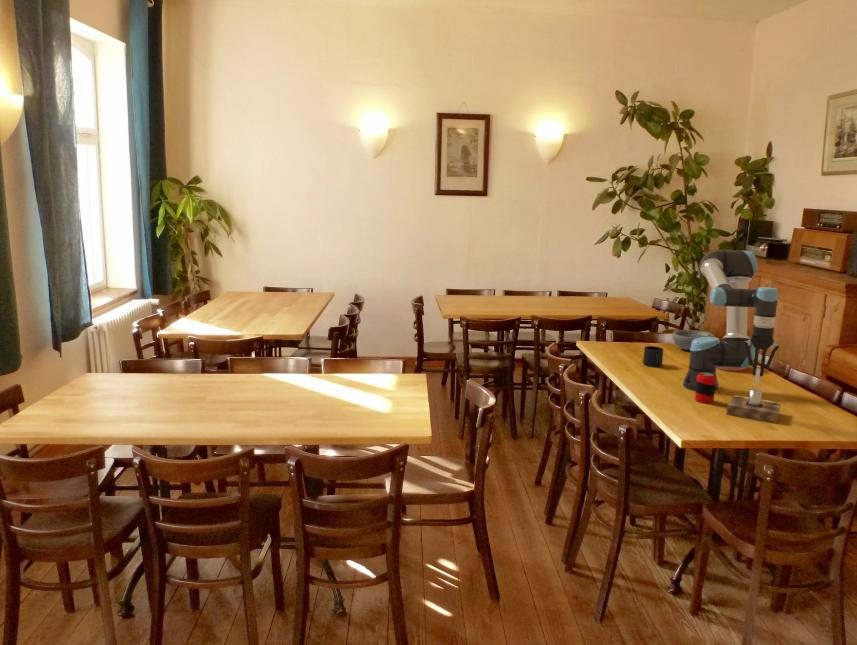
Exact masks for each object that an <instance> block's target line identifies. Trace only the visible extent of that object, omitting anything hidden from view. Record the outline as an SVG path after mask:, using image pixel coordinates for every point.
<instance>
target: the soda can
mask: <svg viewBox="0 0 857 645" xmlns="http://www.w3.org/2000/svg"><path fill="white" fill-rule="evenodd" d="M715 384H716V377H715V376H714V374H711V373H705V372H703V373H700V374H699V375H698V376H697V381H696V391H695V390H694V391H695V393H694V400H695V401H696V402H698V403H701V404H712V403H714V401H715V392H716V391H715Z"/></svg>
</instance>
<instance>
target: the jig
mask: <svg viewBox="0 0 857 645" xmlns="http://www.w3.org/2000/svg"><path fill="white" fill-rule="evenodd" d="M748 402H749V396H748V397H747V396H743V395H742V396H741V395H734V396H732V397H731V399H730V401H729V402H728V404H727V410H726V415H727V416H732V417H733V416H734V417H739V418H744V419H745V418H746V419H750V420H751V419H752V420H755V421H761V422H768V423H774V424H777V422H778V419H779V416H780V410H781V409H780V408H781V404H780V403H779V402H778V401H773V400H767V399H761V403H760V408H759V407H753V406H748Z"/></svg>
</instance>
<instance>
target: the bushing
mask: <svg viewBox="0 0 857 645" xmlns="http://www.w3.org/2000/svg"><path fill="white" fill-rule="evenodd" d="M762 393H763V391H762V390H761V389H757V388H750V389H749V396H748V397H749V402H748V406H753V407H759V408H760V403H761V400H762V395H763V394H762Z"/></svg>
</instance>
